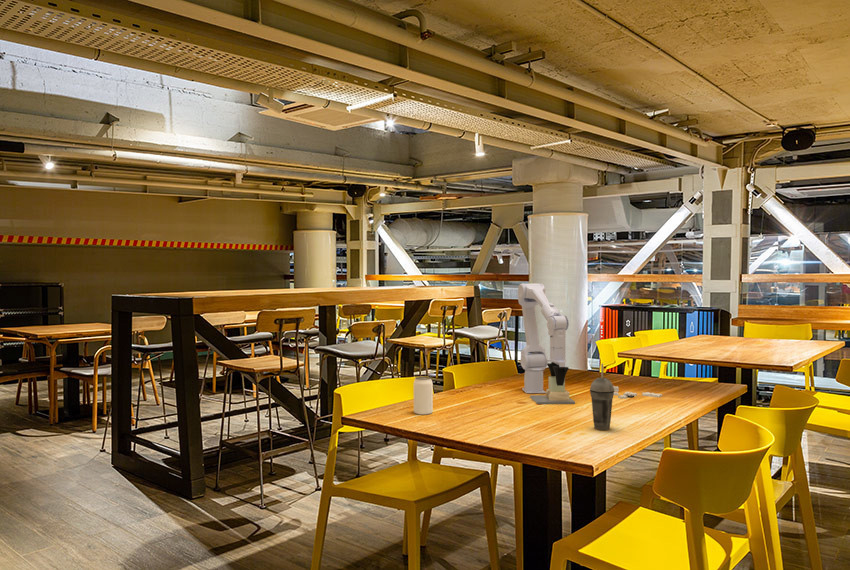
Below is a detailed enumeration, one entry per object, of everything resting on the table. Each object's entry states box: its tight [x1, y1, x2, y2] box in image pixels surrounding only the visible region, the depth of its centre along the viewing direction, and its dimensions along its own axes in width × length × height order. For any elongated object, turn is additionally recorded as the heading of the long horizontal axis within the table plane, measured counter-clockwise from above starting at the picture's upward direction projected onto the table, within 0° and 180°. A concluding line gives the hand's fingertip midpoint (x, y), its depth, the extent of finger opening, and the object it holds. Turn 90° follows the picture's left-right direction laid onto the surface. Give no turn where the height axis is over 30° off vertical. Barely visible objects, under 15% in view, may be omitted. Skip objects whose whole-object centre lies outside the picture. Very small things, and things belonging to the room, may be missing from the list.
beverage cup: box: [589, 363, 615, 431], centre depth 192 cm, size 7×7×20 cm
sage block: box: [548, 375, 566, 392], centre depth 236 cm, size 5×5×5 cm
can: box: [413, 376, 434, 416], centre depth 214 cm, size 6×6×12 cm
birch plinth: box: [545, 388, 570, 401], centre depth 236 cm, size 7×7×3 cm
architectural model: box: [613, 385, 663, 400], centre depth 245 cm, size 20×24×2 cm
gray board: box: [529, 394, 576, 405], centre depth 236 cm, size 13×14×1 cm
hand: (557, 383), depth 236 cm, fingers open, 7 cm apart
